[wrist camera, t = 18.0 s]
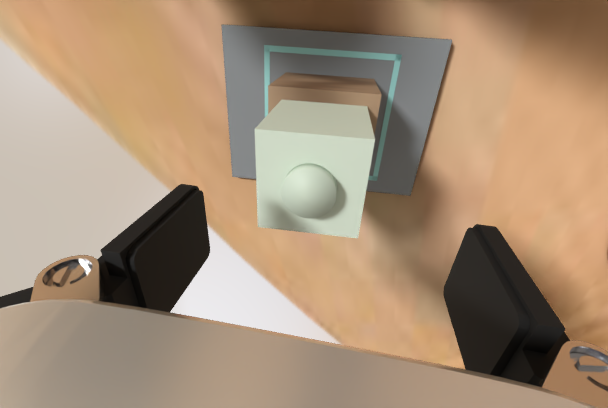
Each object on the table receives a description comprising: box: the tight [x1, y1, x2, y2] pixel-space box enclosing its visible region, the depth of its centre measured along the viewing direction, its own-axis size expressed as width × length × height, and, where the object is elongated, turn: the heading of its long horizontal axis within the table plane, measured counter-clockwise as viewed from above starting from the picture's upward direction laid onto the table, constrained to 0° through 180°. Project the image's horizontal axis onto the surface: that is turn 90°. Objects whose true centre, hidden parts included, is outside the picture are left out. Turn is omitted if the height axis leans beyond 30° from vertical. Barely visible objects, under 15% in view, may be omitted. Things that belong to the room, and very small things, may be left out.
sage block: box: [255, 100, 375, 238], centre depth 16 cm, size 5×5×7 cm
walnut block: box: [268, 72, 382, 135], centre depth 21 cm, size 6×6×6 cm
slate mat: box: [222, 25, 452, 196], centre depth 24 cm, size 16×12×1 cm
